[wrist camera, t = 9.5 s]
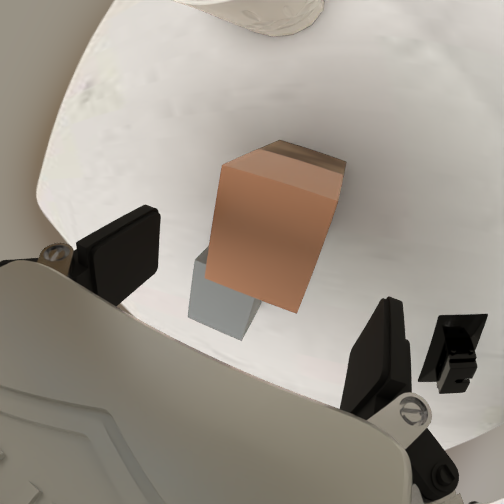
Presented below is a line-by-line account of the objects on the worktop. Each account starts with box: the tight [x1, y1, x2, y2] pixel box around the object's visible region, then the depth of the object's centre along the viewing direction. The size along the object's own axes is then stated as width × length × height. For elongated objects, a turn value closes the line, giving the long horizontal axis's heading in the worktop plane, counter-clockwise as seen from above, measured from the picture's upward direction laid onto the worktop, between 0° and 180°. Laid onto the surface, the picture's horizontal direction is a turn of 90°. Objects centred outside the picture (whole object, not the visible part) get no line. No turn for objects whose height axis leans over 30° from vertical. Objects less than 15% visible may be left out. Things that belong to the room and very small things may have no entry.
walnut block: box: [260, 140, 346, 177], centre depth 20 cm, size 5×6×5 cm
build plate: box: [418, 314, 488, 394], centre depth 22 cm, size 12×7×5 cm, turn 8°
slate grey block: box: [188, 246, 262, 341], centre depth 25 cm, size 5×6×5 cm
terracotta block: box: [205, 149, 344, 314], centre depth 15 cm, size 5×6×5 cm
